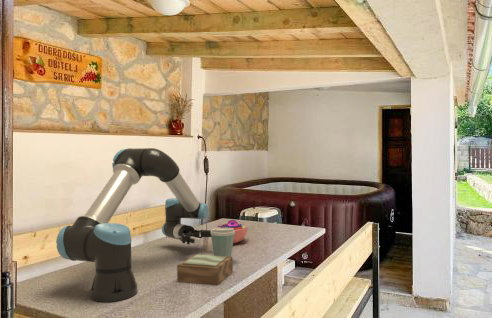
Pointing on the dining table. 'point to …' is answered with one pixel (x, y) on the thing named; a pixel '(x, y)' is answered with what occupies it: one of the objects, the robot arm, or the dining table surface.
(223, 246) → the disposable coffee cup
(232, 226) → the cell model
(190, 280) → the walnut stand
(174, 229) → the robot arm
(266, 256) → the dining table surface
